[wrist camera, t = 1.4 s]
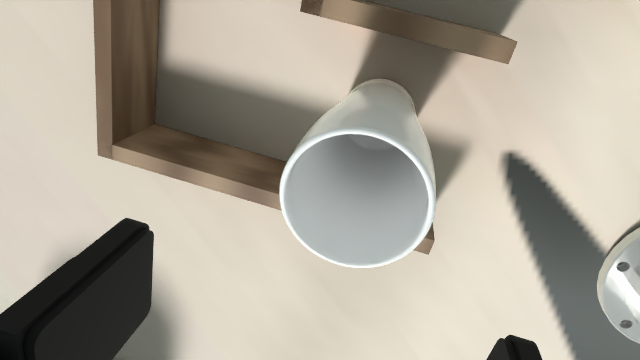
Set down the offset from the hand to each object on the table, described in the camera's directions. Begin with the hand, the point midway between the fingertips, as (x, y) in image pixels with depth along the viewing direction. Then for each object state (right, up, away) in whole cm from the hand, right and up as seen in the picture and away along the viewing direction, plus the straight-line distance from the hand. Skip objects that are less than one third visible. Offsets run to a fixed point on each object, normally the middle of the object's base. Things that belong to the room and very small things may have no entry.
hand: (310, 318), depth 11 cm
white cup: (+5, +9, +20) cm, 22 cm away
